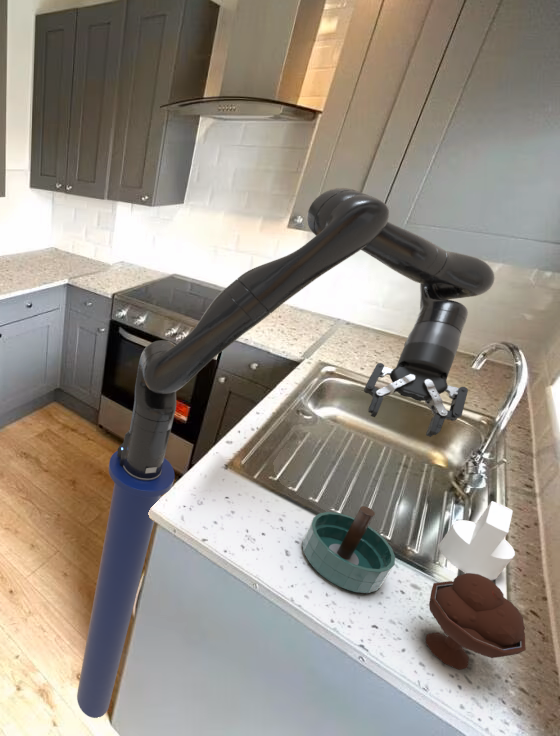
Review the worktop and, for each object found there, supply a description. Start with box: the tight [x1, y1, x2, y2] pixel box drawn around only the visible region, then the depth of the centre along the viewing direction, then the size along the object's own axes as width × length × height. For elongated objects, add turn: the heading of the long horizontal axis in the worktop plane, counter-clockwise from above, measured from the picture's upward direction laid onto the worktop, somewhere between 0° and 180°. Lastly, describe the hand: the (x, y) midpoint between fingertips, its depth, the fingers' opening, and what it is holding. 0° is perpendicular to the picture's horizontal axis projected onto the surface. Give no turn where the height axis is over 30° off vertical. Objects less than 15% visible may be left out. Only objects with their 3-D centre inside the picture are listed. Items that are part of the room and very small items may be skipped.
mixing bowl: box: [301, 511, 396, 594], centre depth 81 cm, size 13×13×6 cm
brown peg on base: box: [329, 506, 376, 565], centre depth 79 cm, size 5×5×13 cm
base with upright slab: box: [438, 500, 516, 581], centre depth 82 cm, size 9×9×12 cm
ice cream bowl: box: [425, 573, 527, 670], centre depth 65 cm, size 11×11×15 cm
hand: (400, 425), depth 79 cm, fingers open, 8 cm apart
